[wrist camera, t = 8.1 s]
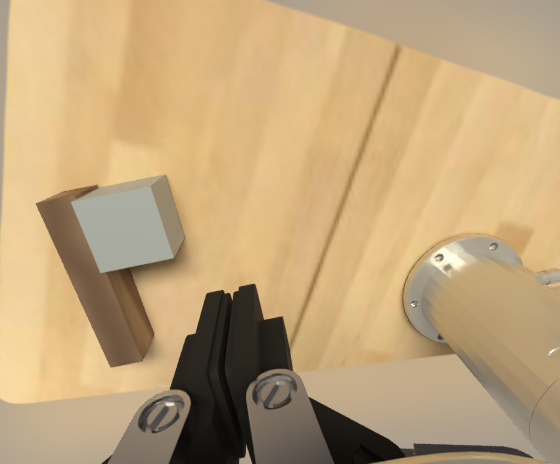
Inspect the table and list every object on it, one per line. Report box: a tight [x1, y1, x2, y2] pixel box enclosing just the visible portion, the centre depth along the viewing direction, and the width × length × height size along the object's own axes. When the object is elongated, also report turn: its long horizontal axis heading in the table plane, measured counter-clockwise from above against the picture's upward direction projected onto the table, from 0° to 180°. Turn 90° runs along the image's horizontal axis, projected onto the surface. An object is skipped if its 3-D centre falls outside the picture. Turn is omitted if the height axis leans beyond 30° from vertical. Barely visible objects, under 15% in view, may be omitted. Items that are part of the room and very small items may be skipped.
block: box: [71, 175, 185, 273], centre depth 29 cm, size 6×6×5 cm
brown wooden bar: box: [36, 185, 154, 367], centre depth 31 cm, size 3×16×4 cm, turn 11°
